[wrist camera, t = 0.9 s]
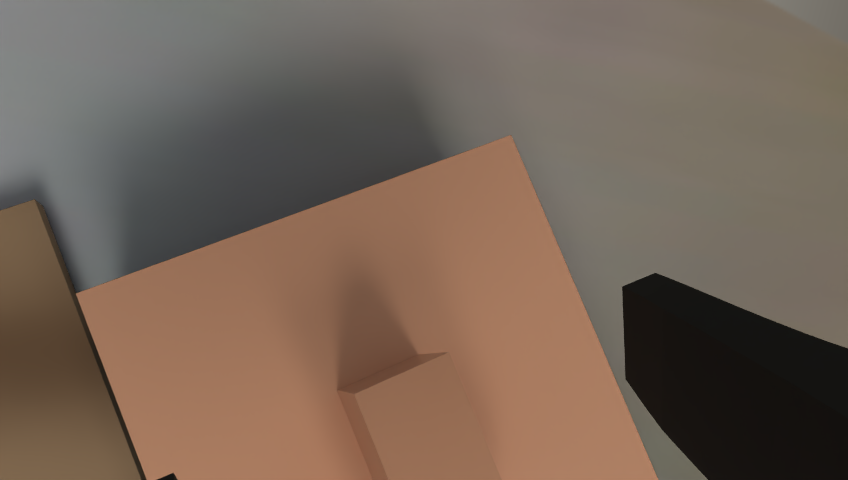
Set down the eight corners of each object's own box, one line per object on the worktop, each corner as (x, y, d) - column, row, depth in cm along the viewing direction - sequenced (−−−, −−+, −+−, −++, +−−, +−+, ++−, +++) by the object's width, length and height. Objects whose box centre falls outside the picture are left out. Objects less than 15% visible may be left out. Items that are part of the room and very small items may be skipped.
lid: (686, 592, 23) (790, 645, 18) (289, 830, 19) (302, 963, 15) (496, 147, 24) (553, 97, 19) (85, 298, 20) (43, 279, 16)
